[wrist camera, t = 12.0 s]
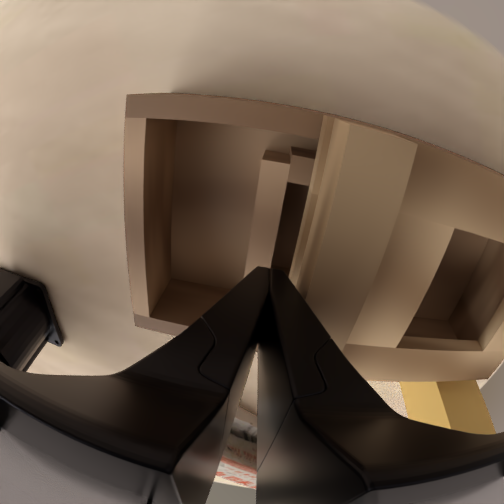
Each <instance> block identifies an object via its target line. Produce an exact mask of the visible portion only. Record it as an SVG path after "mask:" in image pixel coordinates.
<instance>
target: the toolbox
mask: <svg viewBox="0 0 504 504" xmlns="http://www.w3.org/2000/svg"><path fill="white" fill-rule="evenodd" d="M324 115H327V116H331V117H336V118H340V119H344V120H348V121H352V122H356V123H360V124H363V125H367V126H371V127H374V128H378V129H381V130H384V131H388V132H391V133H394V134H397V135H401V136H404V137H407V138H410V139H413V140H416V141H418V142H421V143H424V144H427V145H430V146H432V147H435V148H438V149H440V150H443V151H446V152H448V153H451V154H453V155H456V156H458V157H460V158H463V159H465V160H468V161H470V162H472V163H474V164H477V165H479V166H481V167H483V168H485V169H488V170H490V171H492V172H494V173H496V174H498V175H500V176H502V177H504V175H502V174H500V173H498V172H496V171H494V170H492V169H490V168H488V167H486V166H483V165H481V164H479V163H477V162H475V161H472V160H470V159H468V158H465V157H463V156H461V155H458V154H456V153H453V152H451V151H448V150H446V149H443V148H441V147H438V146H436V145H433V144H430V143H428V142H425V141H422V140H419V139H416V138H413V137H410V136H407V135H404V134H401V133H398V132H395V131H392V130H389V129H385V128H382V127H379V126H375V125H372V124H368V123H364V122H361V121H357V120H353V119H349V118H345V117H341V116H337V115H333V114H328V113H324V112H319V111H314V110H310V109H305V108H299V107H294V106H288V105H283V104H277V103H270V102H264V101H257V100H249V99H241V98H232V97H222V96H211V95H198V94H181V93H150V94H129V95H127V98H126V112H125V130H124V215H125V234H126V249H127V261H128V272H129V281H130V290H131V299H132V306H133V314H134V320H135V326H138V327H141V328H145V329H149V330H153V331H157V332H161V333H166V334H170V335H174V336H178V335H179V334H180V333H182V332H183V331H184V330H185V329H187V328H188V327H189V326H190V325H191V324H193V323H194V322H195V321H196V320H197V319H198V318H200V317H201V316H202V315H203V314H204V313H205V312H206V311H207V310H209V309H210V308H211V307H212V306H213V305H214V304H215V303H217V302H218V301H219V300H220V299H221V298H222V297H223V296H224V295H225V294H227V293H228V292H229V291H230V290H231V289H232V288H233V287H234V286H236V285H237V284H238V283H239V282H240V281H241V280H242V279H243V278H245V277H246V276H247V275H248V274H249V273H250V272H251V271H252V270H253V269H255V268H256V267H257V266H261V267H267V268H270V269H271V268H273V269H279V270H283V271H284V272H285V273H286V274H287V276H288V277H289V273H290V269H291V265H292V261H293V257H294V253H295V248H296V244H297V240H298V236H299V231H300V227H301V223H302V218H303V214H304V209H305V205H306V200H307V196H308V191H309V186H310V182H311V177H312V172H313V167H314V162H315V157H316V152H317V147H318V142H319V137H320V132H321V127H322V122H323V116H324ZM503 298H504V243H502V242H499V241H496V240H493V239H489V238H486V237H483V236H480V235H477V234H473V233H470V232H467V231H464V230H460V229H457V228H455V229H454V231H453V234H452V236H451V239H450V241H449V244H448V246H447V249H446V251H445V253H444V256H443V258H442V260H441V262H440V265H439V267H438V269H437V271H436V273H435V276H434V278H433V280H432V282H431V284H430V286H429V288H428V290H427V292H426V294H425V296H424V298H423V300H422V302H421V304H420V306H419V308H418V310H417V312H416V314H415V315H414V317H413V319H412V321H411V323H410V324H409V326H408V328H407V330H406V332H405V333H404V335H403V336H411V337H423V338H437V339H454V340H475V341H477V340H478V339H479V337H480V336H481V334H482V333H483V331H484V330H485V328H486V327H487V325H488V323H489V322H490V320H491V319H492V317H493V315H494V314H495V312H496V310H497V309H498V307H499V305H500V304H501V302H502V300H503ZM256 352H258V345H257V348H256Z"/></svg>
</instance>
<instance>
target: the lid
mask: <svg viewBox="0 0 504 504" xmlns="http://www.w3.org/2000/svg"><path fill="white" fill-rule="evenodd" d="M455 228H457V229H460V230H464V231H467V232H470V233H473V234H477V235H480V236H483V237H486V238H489V239H493V240H496V241H499V242H502V243H504V177H502V176H500V175H498V174H496V173H494V172H492V171H490V170H488V169H485V168H483V167H481V166H479V165H477V164H474V163H472V162H470V161H468V160H465V159H463V158H460V157H458V156H456V155H453V154H451V153H448V152H446V151H443V150H440V149H438V148H435V147H432V146H430V145H427V144H424V143H421V142H418V141H416V140H413V139H410V138H407V137H404V136H401V135H397V134H394V133H391V132H388V131H384V130H381V129H378V128H374V127H371V126H367V125H363V124H360V123H356V122H352V121H348V120H344V119H340V118H336V117H331V116H327V115H324V116H323V122H322V127H321V132H320V137H319V142H318V147H317V152H316V157H315V162H314V167H313V172H312V177H311V182H310V186H309V191H308V196H307V200H306V205H305V209H304V214H303V218H302V223H301V227H300V231H299V236H298V240H297V244H296V248H295V253H294V257H293V261H292V265H291V269H290V273H289V279H290V280H291V281H292V283H293V284H294V286H295V287H296V288H297V290H298V291H299V293H300V294H301V295H302V297H303V298H304V300H305V301H306V302H307V304H308V305H309V307H310V308H311V309H312V311H313V312H314V314H315V315H316V316H317V318H318V319H319V321H320V322H321V323H322V325H323V326H324V328H325V329H326V331H327V332H328V333H329V335H330V336H331V339H333V340H334V342H335V343H336V344H337V346H338V347H339V349H340V350H341V351H342V353H343V354H344V355H345V357H346V358H347V359H348V361H349V362H350V363H351V364H352V365H353V366H354V368H355V369H356V370H357V371H358V372H359V374H360V375H361V376H362V377H363V378H364V379H365V380H368V381H395V382H439V381H464V380H480V379H488V378H489V377H490V376H491V374H492V373H493V372H494V371H495V369H496V368H497V367H498V366H499V364H500V363H501V362H502V361H503V359H504V298H503V300H502V302H501V304H500V305H499V307H498V309H497V310H496V312H495V314H494V315H493V317H492V319H491V320H490V322H489V323H488V325H487V327H486V328H485V330H484V331H483V333H482V334H481V336H480V337H479V339H478V340H477V341H475V340H454V339H437V338H423V337H411V336H403V335H404V333H405V332H406V330H407V328H408V326H409V324H410V323H411V321H412V319H413V317H414V315H415V314H416V312H417V310H418V308H419V306H420V304H421V302H422V300H423V298H424V296H425V294H426V292H427V290H428V288H429V286H430V284H431V282H432V280H433V278H434V276H435V273H436V271H437V269H438V267H439V265H440V262H441V260H442V258H443V256H444V253H445V251H446V249H447V246H448V244H449V241H450V239H451V236H452V234H453V231H454V229H455Z"/></svg>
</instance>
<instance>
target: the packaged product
mask: <svg viewBox="0 0 504 504" xmlns="http://www.w3.org/2000/svg"><path fill="white" fill-rule="evenodd" d="M256 474H257V416H256V415H254V414H252V413H250V412H249V411H247V410H245V409H243V408H241V407H239V406H238V409H237V412H236V415H235V418H234V421H233V424H232V427H231V431H230V434H229V437H228V440H227V443H226V446H225V449H224V452H223V455H222V457H221V460H220V463H219V466H218V469H217V472H216V475H217V476H220V477H222V478H224V479H227V480H230V481H232V482H235V483H238V484H241V485H244V486H247V487H250V488H253V489H256Z"/></svg>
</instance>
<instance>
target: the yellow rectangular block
mask: <svg viewBox="0 0 504 504" xmlns="http://www.w3.org/2000/svg"><path fill="white" fill-rule="evenodd" d="M399 383H400V386H401V390H402V394H403V398H404V402H405V406H406V410H407V414H408V418H409V419H411V420H415V421H419V422H423V423H427V424H431V425H435V426H440V427H444V428H449V429H453V430H458V431H463V432H468V433H475V434H496V432H495V429H494V426H493V423H492V421H491V417H490V415H489V412H488V409H487V407H486V404H485V402H484V399H483V397H482V394H481V392H480V389H479V387H478V385H477V382H476V380H464V381H439V382H399Z"/></svg>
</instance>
